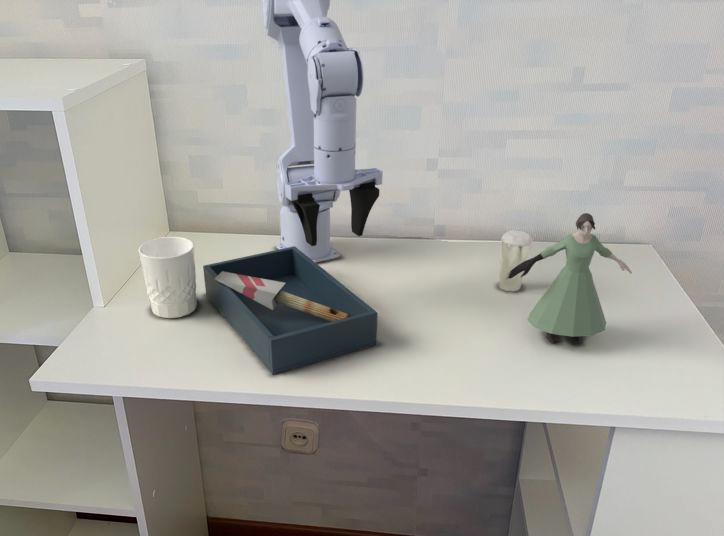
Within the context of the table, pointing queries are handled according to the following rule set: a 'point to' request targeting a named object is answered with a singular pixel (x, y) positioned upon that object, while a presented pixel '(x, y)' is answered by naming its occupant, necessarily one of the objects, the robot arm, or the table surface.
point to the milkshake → (513, 257)
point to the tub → (292, 311)
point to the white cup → (169, 275)
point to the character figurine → (571, 287)
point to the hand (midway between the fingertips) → (334, 238)
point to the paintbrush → (275, 295)
